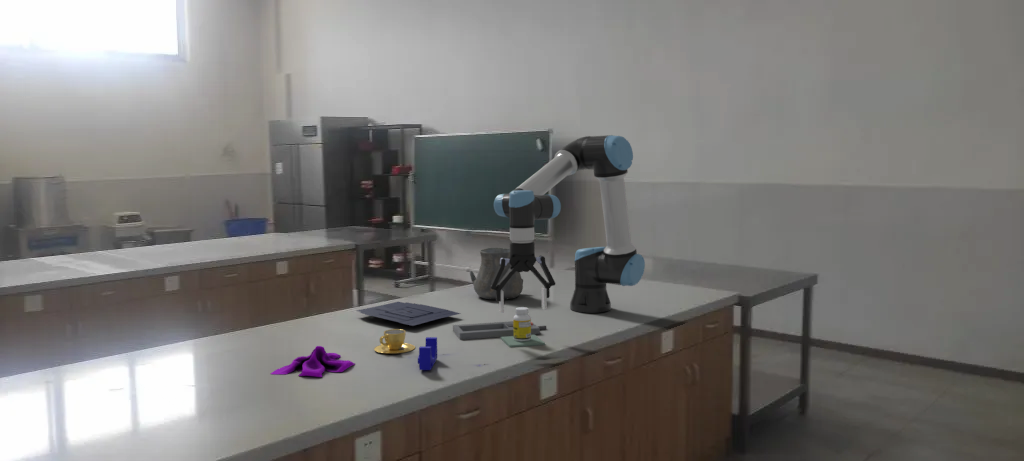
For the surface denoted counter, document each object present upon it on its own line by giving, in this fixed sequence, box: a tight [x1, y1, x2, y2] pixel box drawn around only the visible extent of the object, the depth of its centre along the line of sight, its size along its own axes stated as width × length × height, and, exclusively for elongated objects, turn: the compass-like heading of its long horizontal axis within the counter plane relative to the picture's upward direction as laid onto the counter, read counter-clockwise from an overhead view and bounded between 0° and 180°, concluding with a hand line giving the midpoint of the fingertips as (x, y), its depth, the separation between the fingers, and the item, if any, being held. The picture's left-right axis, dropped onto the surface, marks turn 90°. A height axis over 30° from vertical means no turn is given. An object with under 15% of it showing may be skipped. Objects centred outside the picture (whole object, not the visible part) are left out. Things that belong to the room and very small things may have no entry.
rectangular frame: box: [452, 320, 547, 340], centre depth 240 cm, size 30×12×3 cm, turn 105°
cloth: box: [270, 345, 356, 378], centre depth 202 cm, size 22×19×6 cm
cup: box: [373, 328, 416, 354], centre depth 220 cm, size 12×12×5 cm
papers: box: [356, 301, 462, 327], centre depth 260 cm, size 24×30×4 cm
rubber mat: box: [500, 334, 546, 348], centre depth 228 cm, size 11×11×1 cm
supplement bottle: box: [512, 306, 532, 342], centre depth 227 cm, size 5×5×10 cm
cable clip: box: [417, 336, 438, 371], centre depth 204 cm, size 12×4×6 cm, turn 177°
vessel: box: [469, 247, 524, 301], centre depth 298 cm, size 22×22×20 cm
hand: (523, 310), depth 227 cm, fingers open, 13 cm apart
